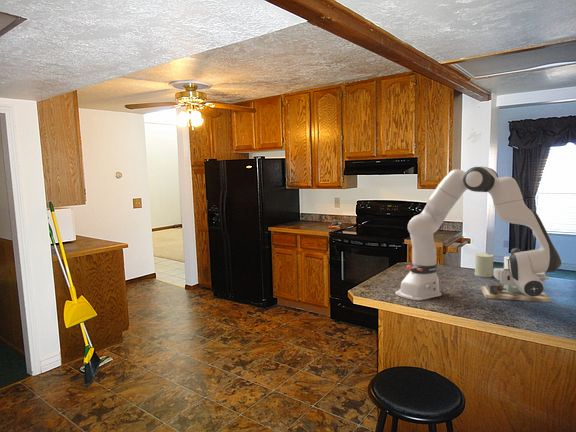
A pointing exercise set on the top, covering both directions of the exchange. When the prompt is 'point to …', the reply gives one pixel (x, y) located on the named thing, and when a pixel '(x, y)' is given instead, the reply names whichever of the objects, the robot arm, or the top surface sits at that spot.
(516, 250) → the press handle
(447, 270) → the top surface
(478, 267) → the can
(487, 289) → the press frame
